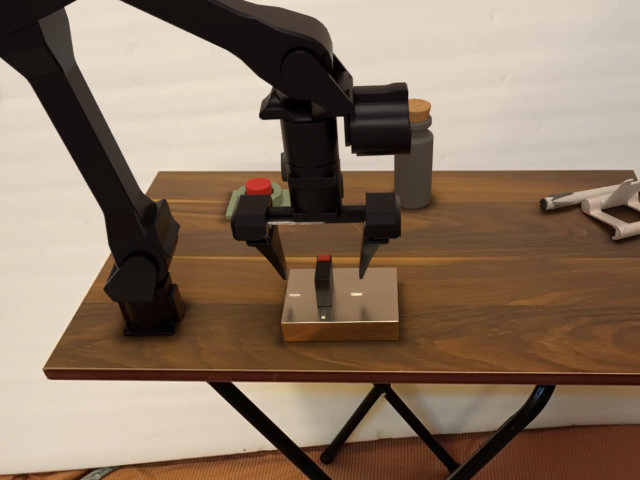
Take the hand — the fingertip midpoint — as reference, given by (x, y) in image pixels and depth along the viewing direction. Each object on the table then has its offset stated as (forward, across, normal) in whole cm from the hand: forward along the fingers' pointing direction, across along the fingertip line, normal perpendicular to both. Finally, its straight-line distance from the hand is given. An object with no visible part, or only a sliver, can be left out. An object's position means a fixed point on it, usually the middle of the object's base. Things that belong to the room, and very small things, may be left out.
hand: (323, 277), depth 77 cm
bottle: (+6, -12, -28) cm, 31 cm away
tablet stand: (+1, -44, -18) cm, 48 cm away
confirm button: (+3, +12, -27) cm, 30 cm away
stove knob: (+2, 0, 0) cm, 2 cm away
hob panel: (+6, -2, 0) cm, 6 cm away
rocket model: (+4, -31, -24) cm, 39 cm away
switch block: (+6, +12, -27) cm, 30 cm away
